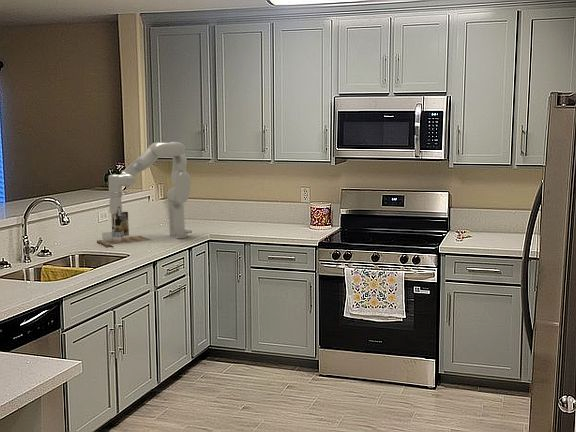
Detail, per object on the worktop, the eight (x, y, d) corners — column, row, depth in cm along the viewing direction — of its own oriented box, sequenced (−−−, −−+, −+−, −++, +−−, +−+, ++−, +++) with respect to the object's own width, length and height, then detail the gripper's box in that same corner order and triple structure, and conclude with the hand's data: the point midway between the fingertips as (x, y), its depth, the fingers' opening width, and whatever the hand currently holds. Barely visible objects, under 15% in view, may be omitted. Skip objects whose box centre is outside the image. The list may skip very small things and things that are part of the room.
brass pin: (118, 229, 443) (117, 213, 442) (120, 230, 441) (119, 213, 440) (113, 230, 442) (113, 213, 441) (115, 230, 439) (114, 214, 438)
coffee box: (119, 238, 460) (118, 213, 457) (112, 238, 463) (110, 212, 461) (129, 236, 467) (128, 211, 465) (122, 235, 471) (120, 211, 468)
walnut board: (140, 238, 461) (140, 235, 460) (151, 242, 445) (151, 239, 444) (96, 242, 446) (96, 240, 446) (106, 247, 430) (106, 245, 430)
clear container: (118, 238, 452) (117, 228, 451) (125, 241, 441) (124, 231, 441) (97, 240, 446) (97, 230, 445) (104, 243, 435) (104, 233, 434)
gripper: (105, 194, 443) (106, 224, 446) (113, 196, 430) (115, 227, 432) (117, 193, 447) (118, 223, 450) (126, 195, 434) (127, 226, 436)
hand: (116, 224), depth 441 cm, fingers closed on brass pin, 3 cm apart
